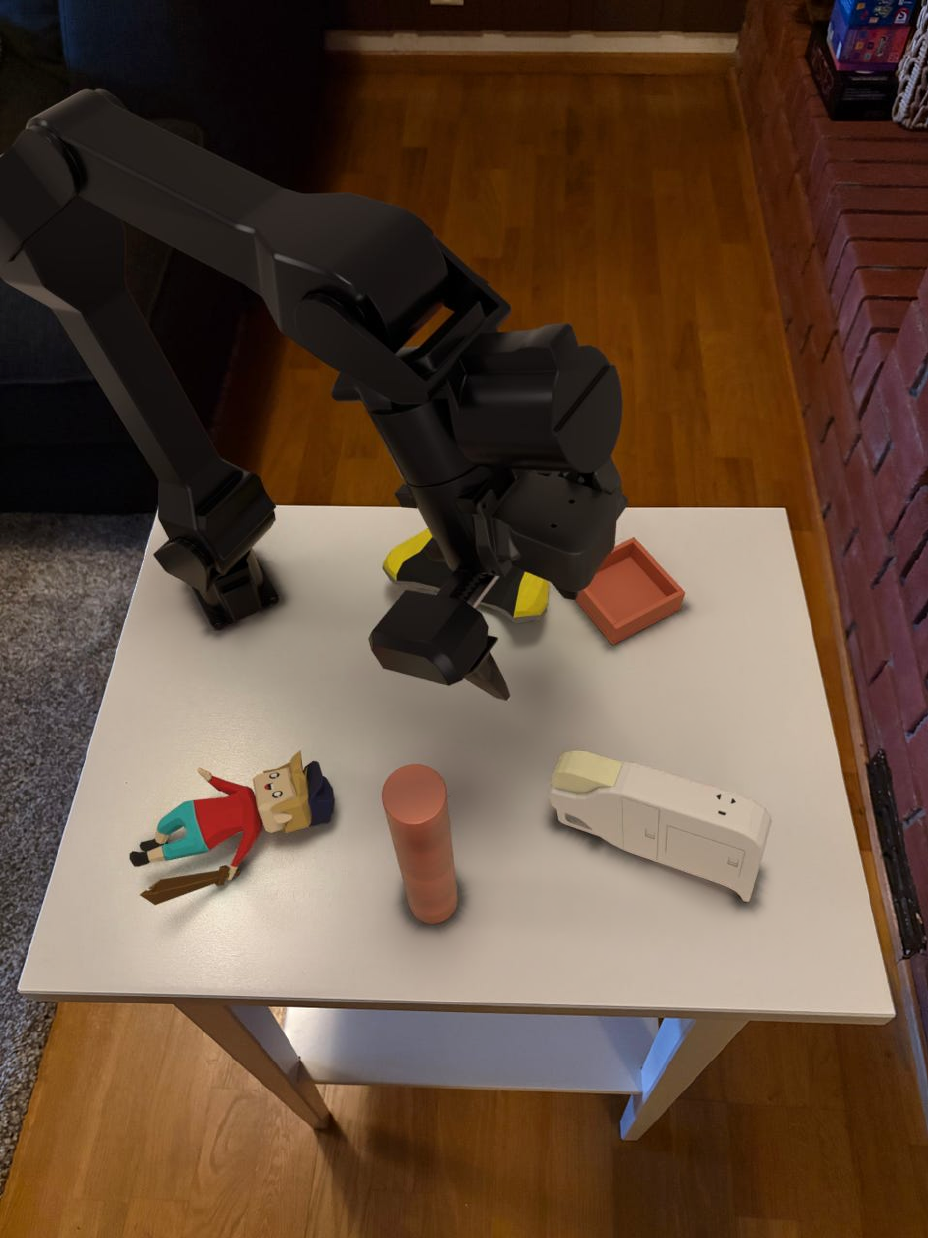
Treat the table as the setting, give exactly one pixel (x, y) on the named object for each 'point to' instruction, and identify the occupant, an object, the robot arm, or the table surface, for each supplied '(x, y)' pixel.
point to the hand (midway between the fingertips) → (538, 645)
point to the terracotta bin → (629, 592)
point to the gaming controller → (412, 567)
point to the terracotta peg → (422, 840)
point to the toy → (236, 822)
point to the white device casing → (663, 817)
